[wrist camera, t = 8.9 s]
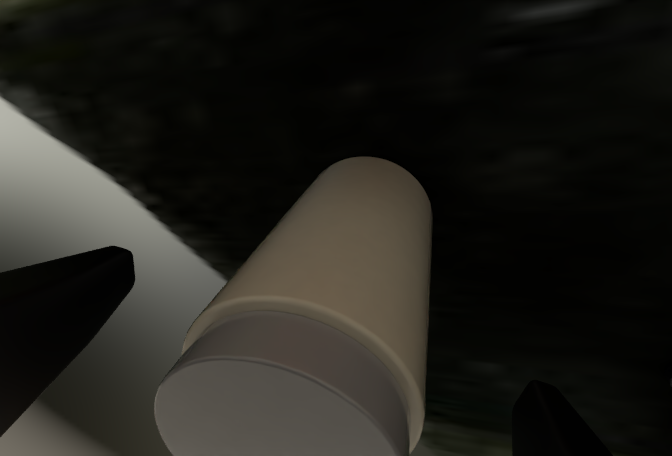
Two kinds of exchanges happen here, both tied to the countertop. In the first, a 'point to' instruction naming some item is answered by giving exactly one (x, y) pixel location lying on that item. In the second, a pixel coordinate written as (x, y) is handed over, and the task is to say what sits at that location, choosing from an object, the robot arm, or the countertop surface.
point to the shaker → (315, 330)
